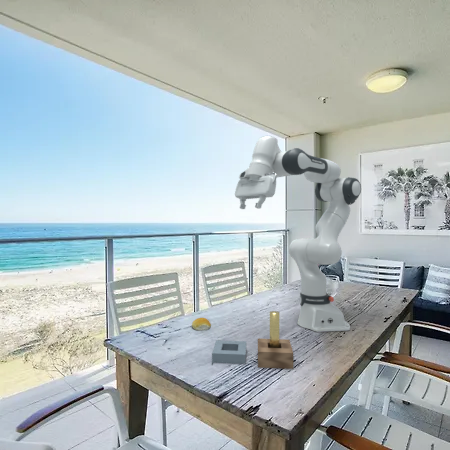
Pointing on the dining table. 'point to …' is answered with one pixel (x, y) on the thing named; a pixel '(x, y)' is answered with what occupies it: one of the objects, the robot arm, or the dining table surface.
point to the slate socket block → (229, 352)
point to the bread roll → (201, 324)
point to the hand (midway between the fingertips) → (249, 208)
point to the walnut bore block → (275, 354)
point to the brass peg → (274, 329)
